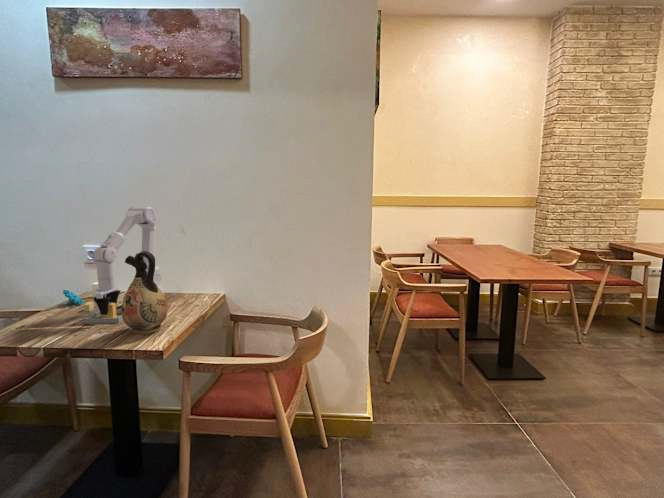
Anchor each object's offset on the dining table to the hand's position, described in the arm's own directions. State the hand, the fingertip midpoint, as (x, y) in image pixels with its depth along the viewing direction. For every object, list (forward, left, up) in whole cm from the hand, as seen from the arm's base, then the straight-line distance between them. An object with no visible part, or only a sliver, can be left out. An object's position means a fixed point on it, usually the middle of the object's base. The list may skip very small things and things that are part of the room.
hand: (108, 311), depth 159 cm
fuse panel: (+9, -12, -3) cm, 15 cm away
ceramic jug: (-19, +14, -4) cm, 24 cm away
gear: (+24, -23, -4) cm, 33 cm away
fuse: (0, 0, -3) cm, 3 cm away
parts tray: (0, 0, -3) cm, 3 cm away
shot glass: (+19, -37, -4) cm, 42 cm away
